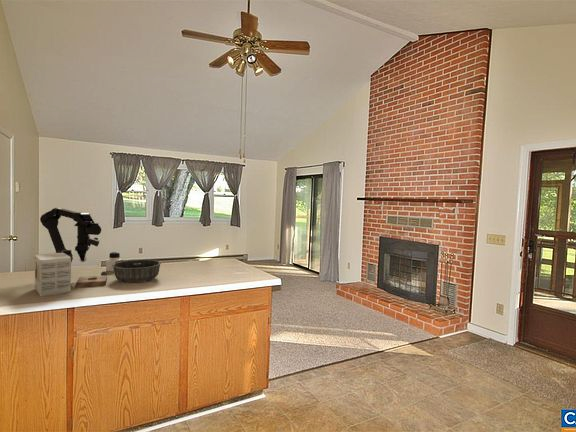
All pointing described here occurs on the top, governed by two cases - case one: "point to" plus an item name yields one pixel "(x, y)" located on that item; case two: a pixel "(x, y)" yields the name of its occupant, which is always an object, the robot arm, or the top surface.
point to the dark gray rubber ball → (103, 273)
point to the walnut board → (91, 281)
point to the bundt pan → (136, 270)
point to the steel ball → (84, 259)
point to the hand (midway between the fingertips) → (83, 260)
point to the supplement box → (52, 273)
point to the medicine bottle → (112, 261)
